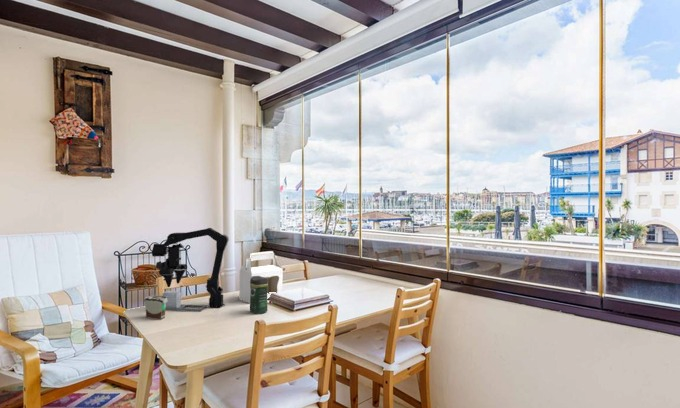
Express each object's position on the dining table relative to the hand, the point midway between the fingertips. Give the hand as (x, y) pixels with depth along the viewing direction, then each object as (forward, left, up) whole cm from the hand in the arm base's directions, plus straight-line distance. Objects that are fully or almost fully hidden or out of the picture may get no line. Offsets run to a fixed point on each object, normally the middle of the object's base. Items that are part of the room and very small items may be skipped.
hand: (173, 285), depth 196 cm
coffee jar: (-47, +1, -13) cm, 49 cm away
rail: (-5, +1, -12) cm, 14 cm away
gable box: (-40, -26, -13) cm, 50 cm away
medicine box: (0, +1, -12) cm, 12 cm away
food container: (-1, +16, -13) cm, 20 cm away
